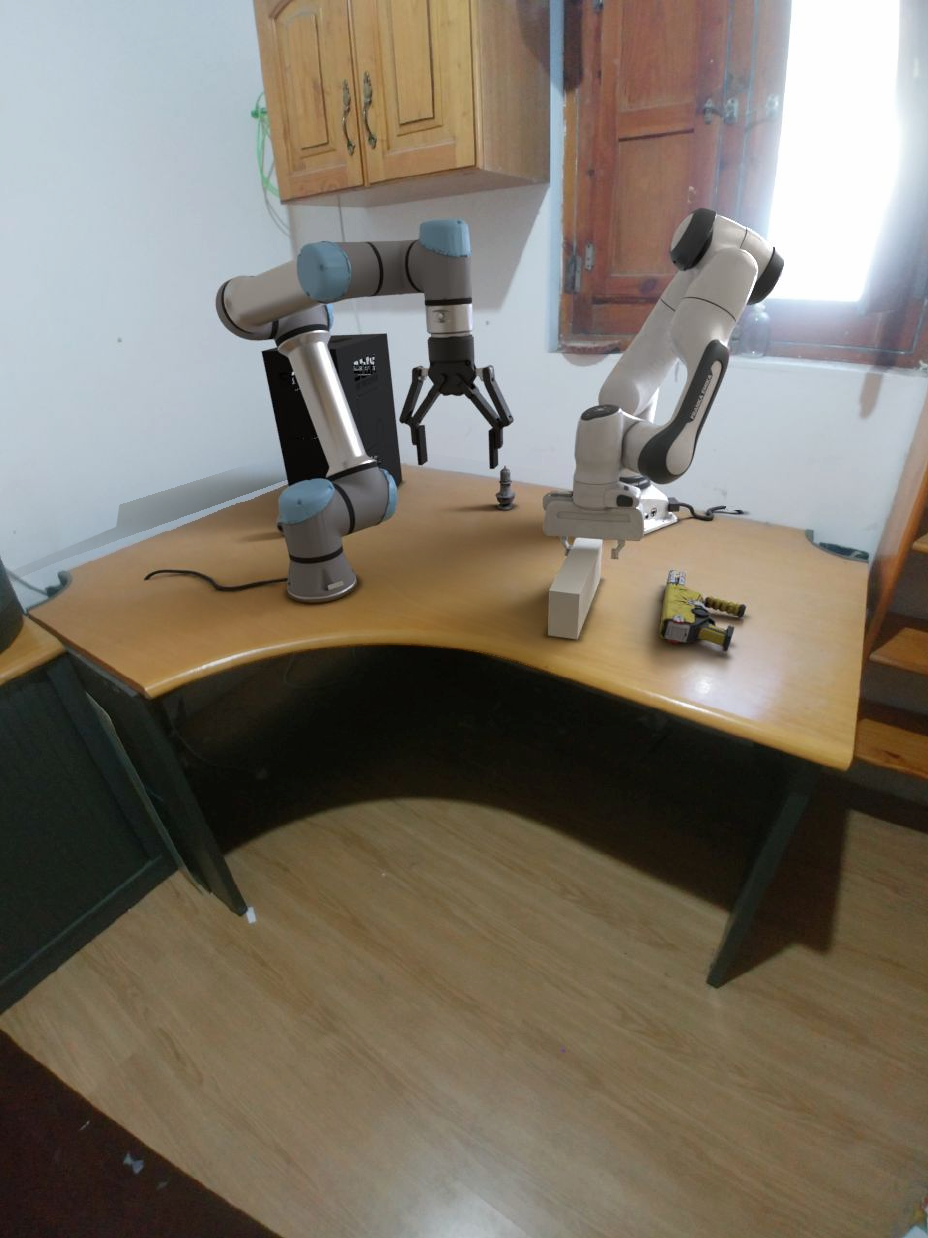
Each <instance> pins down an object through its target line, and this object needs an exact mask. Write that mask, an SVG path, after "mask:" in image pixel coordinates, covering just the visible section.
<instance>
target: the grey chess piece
mask: <svg viewBox="0 0 928 1238" xmlns="http://www.w3.org/2000/svg"><path fill="white" fill-rule="evenodd" d="M498 483H499V492H496V493H495V497H496V500H497V502H498V504H497V505H496V508H497V509H498V510H507V511H508V510H512V509H514V508H515V507H516V505H515V504H514V503H513V502H514V500H515V499H516V495H517V493H515V492H514V491H512V488H511V487H512V485H511V484H512V483H513V481H512V480H511V470H510V469H508V468H507V466H506V465H504V466H503V468H502V469H501V470H500V471H499V481H498Z"/></svg>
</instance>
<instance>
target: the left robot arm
mask: <svg viewBox="0 0 928 1238" xmlns="http://www.w3.org/2000/svg"><path fill="white" fill-rule="evenodd" d="M418 229H419V230H418V231H419V234H418V239H406V240H405V239H404V240H376V241H329V240H322V241H317V242H310V243H309V242H308V243H306V244H304V245H303V246H302V247H301V248H300V251H299V254H297V257H296V258H294V259H292V260H289V261H287V262H284V263H282V264H280V265H278V266H275V267H273V268H270V269H268V270H265V271H264V272H261V273H259V274H256V275H238V276H235V277H233V278H230V279H228V280H226V281H225V282H224V283H222V284H221V285H220V287H219V288H218V290H217V292H216V295H215V304H214V305H215V312H216V314H217V316H218V318H219V320H220V322H221V323H222V325H223V326H224V328H225V329H227V330H228V331H229V332H230V333H232V334H233V335H234V336H236V337H238V338H241V339H243V340H247V341H254V342H256V341H257V342H259V341H269V340H271V341H272V340H273V341H274V343H275V346H276V347H277V348H278V351H279V352H280V353H281V354H283V355H285V356H287V357H288V358H289V360H290V363H291V365H292V368H293V371H294V372H293V375H294V374H295V376H296V379H297V382H298V384H299V387H300V390H301V392H302V395H303V398H304V400H305V403H306V406H307V408H308V411H309V414H310V416H311V419H312V422H313V424H314V427H315V430H316V432H317V435H318V438H319V440H320V443H321V446H322V448H323V451H324V454H325V456H326V459H327V462H328V464H329V471H328V473H327V475H326V479H327V480H326V479H312V480H309V481H308V480H305V481H301V482H298V483H296V484H293V485H291V486H289V485H288V487H286V488H285V489H284V490H283V491H282V492H281V493H280V495H279V497H278V499H277V504H278V516H279V517H280V520H281V522H282V527H283V531H284V534H283V536H284V540H285V545H286V549H287V553H288V558H289V565H288V573H287V577H283V578H282V577H281V578H274V579H267V580H261V581H255V582H250V583H246V584H241V585H236V586H235V585H234V586H223V585H222V586H221V585H219V584H218V583H216V581H214V579H213V578H211V577H210V576H207V575H206V574H203V573H201V572H198V571H194V570H188V569H187V570H185V569H157V570H154V571H152V572H149V573H148V574H147V575H146V576H145V577H144V578H143V580H144V581H148V580H149V579H150V578H151V577H153V576H156V575H159V574H187V575H194V576H197V577H199V578H202V579H205V580H207V581H208V582H209V583H211V584H210V585H212V586H213V587H214V588H216V589H218V590H220V591H222V590H223V591H238V590H243V589H247V588H252V587H256V586H261V585H268V584H269V585H270V584H276V583H284V582H285V583H286V590H287V594H288V596H289V598H290V599H292V600H293V601H296V602H298V603H303V604H323V603H324V604H325V603H329V602H333V601H336V600H339V599H343V598H344V597H346V596H348V595H349V594H351V593H352V592H353V591H354V590H355V589H356V588H357V585H358V581H357V575H356V573H355V570H354V569H353V568H352V566H351V565H350V562H349V560H348V558H347V556H346V554H345V552H344V545H343V540H342V538H343V537H346V536H349V535H352V534H355V533H358V532H361V531H362V530H366V529H368V528H371V527H376V526H379V525H380V524H382V523H384V522H387V521H388V520H390V519H391V518H392V517H394V515H395V512H396V510H397V506H398V503H399V494H398V489H397V487H396V484H395V481H394V479H393V477H392V476H391V475H389V472H387V471H386V470H384V469H380V468H378V466H377V463H376V460H374V459H373V457H372V456H371V457H369V456H367V455H366V453H365V450H364V447H363V444H362V441H361V439H360V436H359V433H358V430H357V428H356V425H355V422H354V419H353V416H352V414H351V411H350V408H349V405H348V402H347V400H346V397H345V394H344V391H343V389H342V386H341V383H340V380H339V377H338V375H337V372H336V369H335V366H334V363H333V361H332V358H331V355H330V352H329V350H328V347H327V344H328V342H329V339H330V337H331V335H332V334H331V331H330V330H331V329H332V327H333V325H334V319H335V316H334V315H333V313H334V307H333V304H334V303H338V302H341V301H345V300H351V299H358V298H360V299H361V298H372V297H383V296H384V297H386V296H398V295H399V296H401V295H410V294H411V295H412V294H413V295H414V294H423V295H424V309H425V323H426V324H425V325H426V332H427V334H429V335H430V336H428V339H427V354H428V363H429V365H428V366H429V367H424V366H423V365H418V366H415V367H413V368H412V369H411V383H410V385H409V389H408V392H407V395H406V398H405V400H404V404H403V407H402V410H401V413H400V415H399V419H398V420H399V423H400V424H405V425H407V426H408V427H409V429H410V438H411V444H412V446H416V447H415V448H416V456H417V466H423V465H425V464H426V463H427V462H428V461H429V459H428V446H427V445H428V444H427V434H426V433H427V432H426V424H422V421H423V420H424V418H425V417H426V416H427V414H428V412H429V411H430V410H431V408H432V407H433V405H434V404H435V402H436V401H437V399H438V398H439V397H440V395H442V396H443V397H448V396H454V397H461V396H465V397H466V398H467V399H468V400H470V401H471V403H472V404H473V405H474V406H475V408H476V409H477V411H479V413H480V414H481V415H482V417H483V418H484V419H485V420H486V422H487V423H488V424H489V426H490V427H491V428H490V429H489V430H488V431H487V433H488V434H487V435H488V463H489V465H488V466H489V467H488V468H489V470H495V469H496V468H497V467H498V466H499V450H500V449H501V448H502V447H503V445H504V428H507V427H509V426H511V424H513V423H514V421H515V420H514V416H513V414H512V412H511V410H510V407H509V406H508V403H507V401H506V399H505V397H504V395H503V393H502V391H501V389H500V386H499V385H498V382H497V380H496V374H495V369H494V366H493V365H491V364H488V365H487V366H484V367H478V368H477V366H476V363H475V337H474V336H473V334H471V332H472V331H473V330H474V312H473V310H474V309H473V294H472V293H473V291H472V289H473V287H472V249H471V240H470V230H469V225H468V223H467V222H466V221H465V220H463V219H461V218H460V219H459V218H456V219H455V218H447V219H446V218H445V219H432V220H425V221H422V222H421V223H420V225H419V228H418ZM477 377H478V378H479V380H480V381H481V382H483V384H484V388H485V390H486V392H487V394H488V396H489V398H490V400H491V402H492V404H493V406H494V408H493V407H492V405H491V404H490V403H489V402H488V401H487V399H486V398H485V397H484V396H483V394H482V393H481V391H480V388H479V387H478V386H477V385H476V384H475V380H476V379H477ZM427 378H429V380H430V381H431V382H432V386H431V387H430V389H429V391H428V392H427V394H426V396H425V397H424V399H423V400H422V402H421V404H420V405H419V406H418V408H417V410H416V411H415V409H416V406H417V404H418V399H419V397H420V395H421V391H422V388H423V386H424V382H425V381H426V380H427ZM494 409H495V410H494ZM414 411H415V412H414Z"/></svg>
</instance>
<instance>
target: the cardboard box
mask: <svg viewBox="0 0 928 1238" xmlns="http://www.w3.org/2000/svg"><path fill="white" fill-rule="evenodd" d="M327 347H328V350H329V352H330V355H331V358H332V361H333V363H334V366H335V369H336V372H337V375H338V377H339V380H340V383H341V386H342V389H343V391H344V394H345V397H346V400H347V402H348V405H349V408H350V411H351V414H352V416H353V419H354V422H355V425H356V428H357V430H358V433H359V436H360V439H361V441H362V444H363V447H364V450H365V453H366V455H367V456H369V457H371V458H373V459H374V460H376V463H377V466H378V468H380V469H384V470H386V471H387V472H389V475H391V476H392V477H393V479H394V481H395V484H396V488H397V487H398V486H399V485H401V484H402V482H403V474H402V473H403V472H402V464H401V454H400V444H399V435H398V426H397V416H396V415H397V414H396V408H395V407H396V406H395V398H394V396H395V395H394V388H393V387H394V386H393V379H392V369H391V360H390V359H391V358H390V350H389V339H388V333H360V334H359V333H358V334H335V335H334V334H333V335H332V334H331V337H330V339H329V342H328V344H327ZM260 352H261V356H262V361H263V365H264V366H263V367H264V370H265V371H264V372H265V375H266V381H267V386H268V390H269V395H270V400H271V406H272V411H273V415H274V420H275V425H276V431H277V435H278V440H279V445H280V450H281V456H282V459H283V465H284V470H285V476H286V480H287V485H288V487H289V486H291V485H293V484H296V483H298V482H301V481H305V480H308V481H309V480H312V479H326V475H327V473H328V471H329V464H328V462H327V459H326V456H325V454H324V451H323V448H322V446H321V443H320V440H319V438H318V435H317V432H316V430H315V427H314V424H313V422H312V419H311V416H310V414H309V411H308V408H307V406H306V403H305V400H304V398H303V395H302V392H301V390H300V387H299V384H298V382H297V379H296V376H295V374H294V371H293V368H292V365H291V363H290V360H289V358H288V357H287V356H285V355H283V354H281V353H280V352H279V351H278V348H277V346H276V347H273V348H268V349H264V350H261V351H260ZM367 358H368V360H367ZM356 362H357V364H355V363H356ZM326 480H327V479H326Z"/></svg>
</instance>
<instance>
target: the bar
mask: <svg viewBox="0 0 928 1238" xmlns="http://www.w3.org/2000/svg"><path fill="white" fill-rule="evenodd" d="M603 541H604V539H593V538H577V537H575V540H574V542H573V543H572V545H571V546H572V547H571V549H570V551H569V553H568V555H567V556H565V559H564V560H563V563H562V564H561V566H560V568H559V570H558V572H557V574H556V576H555V578H554V580H553V582H552V583H551V585H550V588H549V590H548V612H547V613H548V617H547V618H548V620H547V635H548V636H550V637H557V638H564V639H572V640H578V639H579V637H580V634H581V631H582V628H583V626H584V623H585V621H586V618H587V616H588V613H589V610H590V608H591V605H592V602H593V600H594V597H595V594H596V592H597V589H598V586H599V584H600V582H601V571H602V557H603V544H604V543H603Z"/></svg>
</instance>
